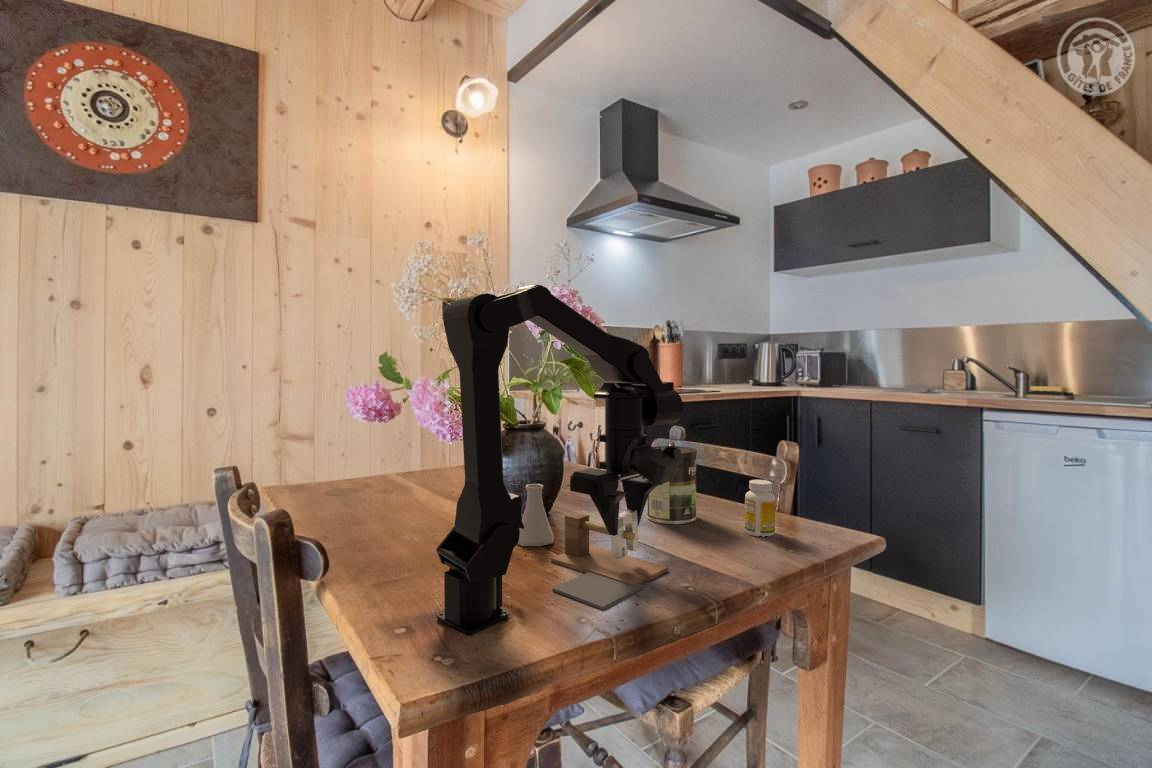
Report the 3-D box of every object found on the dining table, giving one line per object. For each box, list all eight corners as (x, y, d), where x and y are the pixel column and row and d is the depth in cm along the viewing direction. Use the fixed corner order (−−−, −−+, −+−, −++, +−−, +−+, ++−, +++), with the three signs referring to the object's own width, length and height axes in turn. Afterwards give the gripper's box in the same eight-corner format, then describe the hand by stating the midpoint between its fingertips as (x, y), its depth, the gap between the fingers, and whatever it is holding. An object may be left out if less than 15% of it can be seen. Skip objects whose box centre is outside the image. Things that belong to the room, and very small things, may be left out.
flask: (517, 549, 94) (517, 491, 94) (511, 537, 101) (511, 482, 101) (559, 546, 96) (559, 488, 96) (549, 533, 103) (549, 480, 103)
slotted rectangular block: (619, 559, 82) (617, 520, 81) (611, 557, 83) (609, 518, 82) (638, 548, 86) (636, 510, 85) (631, 546, 87) (629, 508, 86)
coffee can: (698, 512, 117) (698, 446, 116) (694, 526, 107) (694, 454, 107) (649, 509, 120) (649, 444, 119) (641, 522, 110) (641, 451, 109)
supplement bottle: (742, 535, 102) (742, 483, 101) (747, 527, 107) (747, 477, 106) (773, 539, 99) (773, 485, 99) (776, 531, 104) (777, 480, 104)
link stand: (633, 588, 77) (633, 540, 77) (551, 561, 88) (551, 519, 88) (668, 570, 84) (668, 526, 84) (588, 547, 95) (588, 508, 95)
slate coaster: (602, 609, 71) (602, 606, 71) (552, 590, 77) (552, 588, 77) (643, 588, 78) (643, 585, 78) (593, 572, 84) (593, 569, 84)
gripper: (631, 439, 71) (630, 559, 72) (702, 426, 85) (702, 527, 86) (567, 432, 78) (567, 541, 79) (642, 422, 92) (642, 514, 93)
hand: (624, 530), depth 84 cm, fingers closed on slotted rectangular block, 5 cm apart
